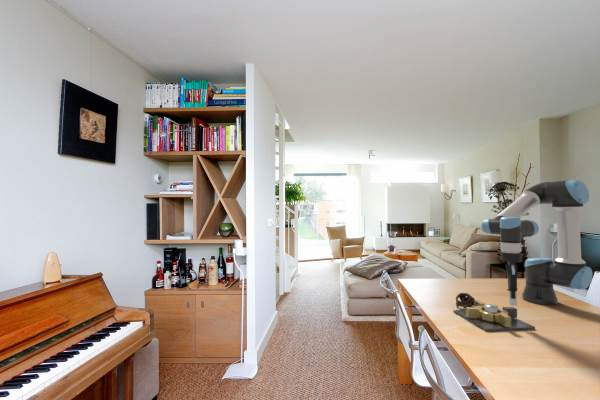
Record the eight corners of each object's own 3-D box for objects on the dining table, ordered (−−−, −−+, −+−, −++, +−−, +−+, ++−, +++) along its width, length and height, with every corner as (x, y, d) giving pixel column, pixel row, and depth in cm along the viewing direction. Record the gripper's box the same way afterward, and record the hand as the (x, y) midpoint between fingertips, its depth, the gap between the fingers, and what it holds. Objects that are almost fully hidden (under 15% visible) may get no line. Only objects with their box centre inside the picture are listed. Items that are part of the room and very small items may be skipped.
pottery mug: (482, 311, 144) (477, 298, 142) (464, 319, 145) (458, 306, 143) (470, 298, 155) (464, 285, 154) (453, 305, 157) (447, 292, 155)
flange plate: (495, 310, 143) (495, 297, 144) (535, 329, 121) (534, 313, 122) (453, 312, 142) (453, 298, 142) (485, 331, 120) (485, 315, 120)
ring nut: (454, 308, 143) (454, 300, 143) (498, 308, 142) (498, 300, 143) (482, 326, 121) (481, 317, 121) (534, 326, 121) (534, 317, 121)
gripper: (524, 254, 121) (526, 311, 120) (519, 250, 132) (521, 301, 132) (502, 253, 125) (504, 308, 124) (499, 249, 136) (501, 299, 135)
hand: (513, 305), depth 128 cm, fingers closed
